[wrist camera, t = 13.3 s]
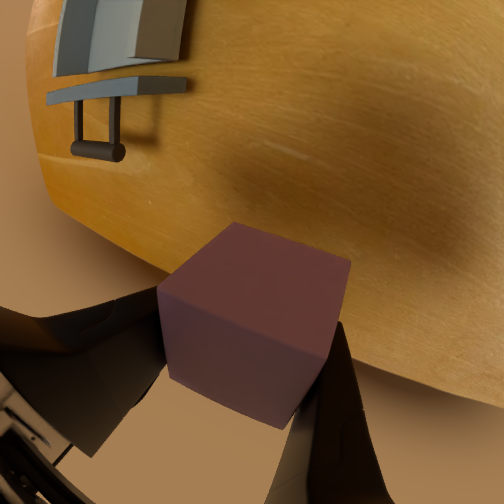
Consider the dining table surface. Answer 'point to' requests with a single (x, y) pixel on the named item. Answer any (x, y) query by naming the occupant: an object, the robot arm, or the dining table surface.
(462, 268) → the dining table surface
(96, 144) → the drawer
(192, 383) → the cube
